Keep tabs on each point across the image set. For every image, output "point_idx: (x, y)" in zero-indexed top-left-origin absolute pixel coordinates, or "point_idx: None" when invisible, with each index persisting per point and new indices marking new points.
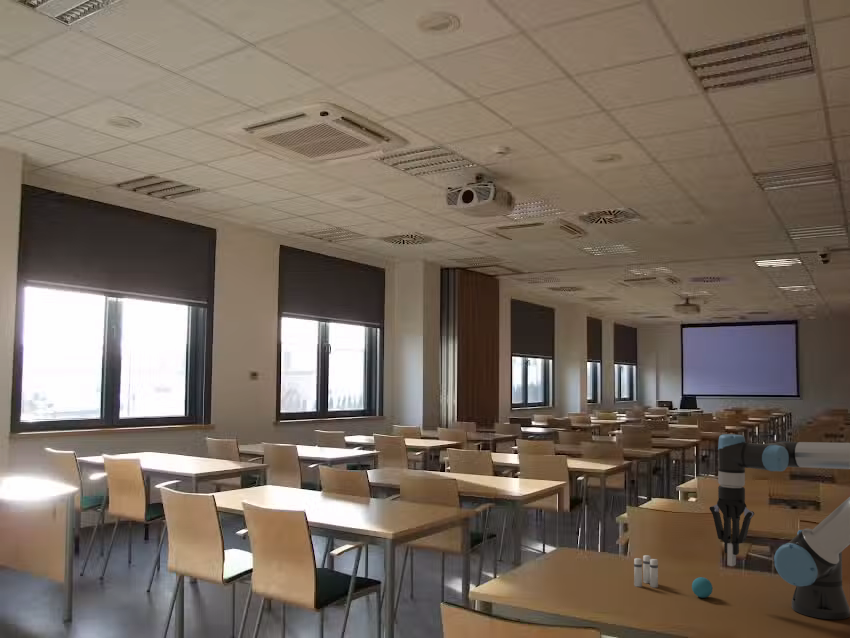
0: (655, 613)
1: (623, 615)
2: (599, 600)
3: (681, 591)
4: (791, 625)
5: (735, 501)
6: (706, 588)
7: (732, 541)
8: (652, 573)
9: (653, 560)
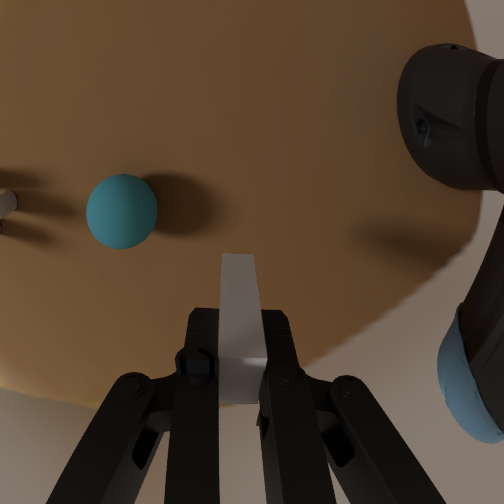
0: None
1: None
2: (41, 356)
3: (63, 177)
4: (399, 276)
5: None
6: (146, 237)
7: (259, 418)
8: None
9: None
